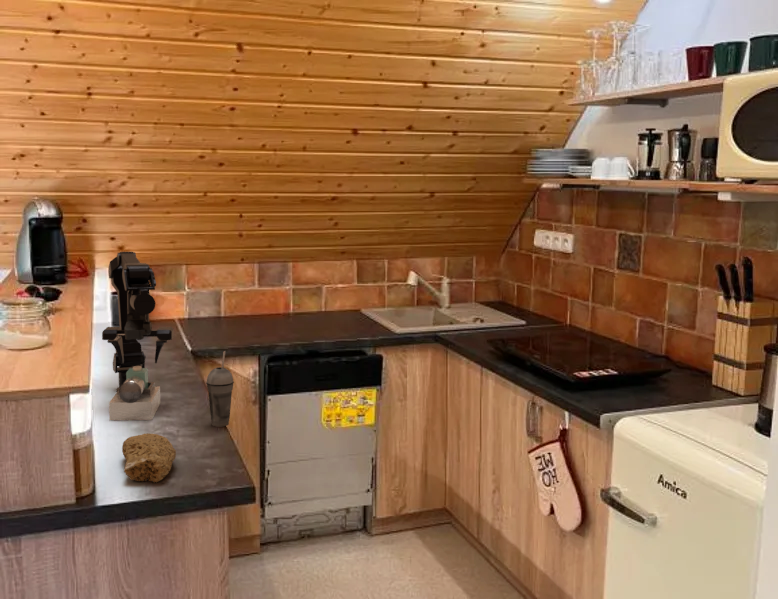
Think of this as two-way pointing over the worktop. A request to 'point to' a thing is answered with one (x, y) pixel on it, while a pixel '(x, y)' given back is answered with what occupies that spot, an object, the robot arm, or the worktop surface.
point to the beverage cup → (220, 394)
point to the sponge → (148, 457)
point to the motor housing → (135, 401)
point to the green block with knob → (138, 374)
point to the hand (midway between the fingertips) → (139, 363)
